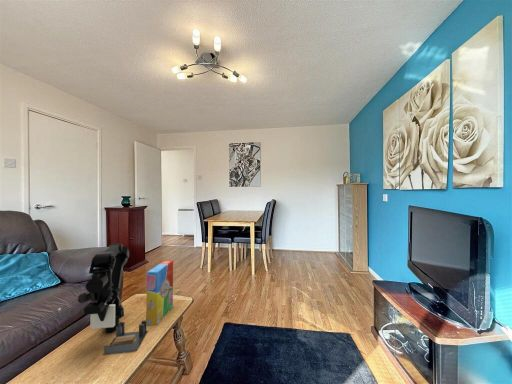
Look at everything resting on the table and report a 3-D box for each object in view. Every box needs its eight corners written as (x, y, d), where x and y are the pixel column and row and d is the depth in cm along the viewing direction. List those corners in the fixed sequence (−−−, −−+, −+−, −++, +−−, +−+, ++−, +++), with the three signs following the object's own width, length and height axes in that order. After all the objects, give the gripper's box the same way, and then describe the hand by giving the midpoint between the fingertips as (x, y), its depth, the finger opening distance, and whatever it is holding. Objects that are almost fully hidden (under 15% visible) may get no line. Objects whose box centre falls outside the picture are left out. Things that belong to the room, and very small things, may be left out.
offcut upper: (116, 341, 95) (116, 337, 95) (135, 338, 97) (135, 334, 97) (113, 346, 92) (113, 342, 92) (132, 343, 94) (132, 339, 94)
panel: (92, 327, 96) (92, 305, 96) (115, 325, 97) (115, 304, 97) (90, 328, 94) (90, 307, 94) (113, 327, 96) (113, 305, 96)
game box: (156, 328, 110) (156, 272, 110) (145, 327, 110) (145, 272, 110) (173, 306, 131) (173, 260, 131) (163, 306, 131) (164, 260, 131)
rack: (118, 335, 104) (118, 322, 104) (148, 332, 106) (148, 320, 106) (102, 357, 90) (102, 342, 90) (137, 353, 92) (137, 338, 92)
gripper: (95, 276, 104) (94, 310, 104) (67, 294, 85) (67, 335, 85) (121, 275, 105) (120, 308, 105) (99, 292, 87) (99, 332, 87)
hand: (103, 320), depth 96 cm, fingers closed on panel, 1 cm apart
